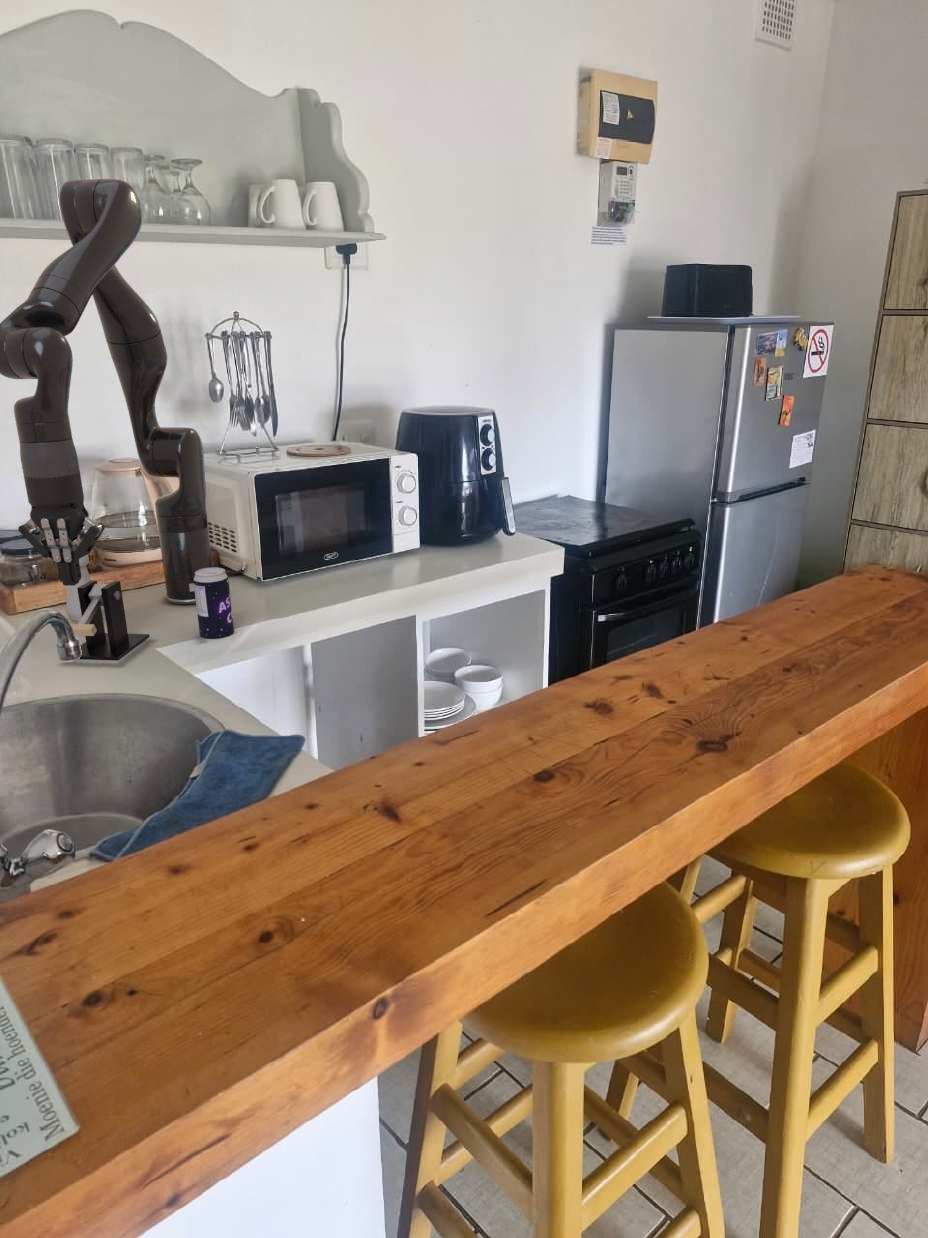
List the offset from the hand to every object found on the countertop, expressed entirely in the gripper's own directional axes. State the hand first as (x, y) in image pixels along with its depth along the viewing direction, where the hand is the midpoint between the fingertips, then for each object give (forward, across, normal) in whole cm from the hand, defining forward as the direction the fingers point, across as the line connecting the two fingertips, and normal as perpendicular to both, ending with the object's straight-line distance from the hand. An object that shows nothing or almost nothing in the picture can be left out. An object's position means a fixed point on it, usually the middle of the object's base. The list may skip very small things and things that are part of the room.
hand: (71, 584), depth 132 cm
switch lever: (+7, 0, -5) cm, 8 cm away
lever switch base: (+14, 0, -7) cm, 16 cm away
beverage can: (+14, -16, -15) cm, 26 cm away
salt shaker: (+15, +12, -22) cm, 29 cm away
